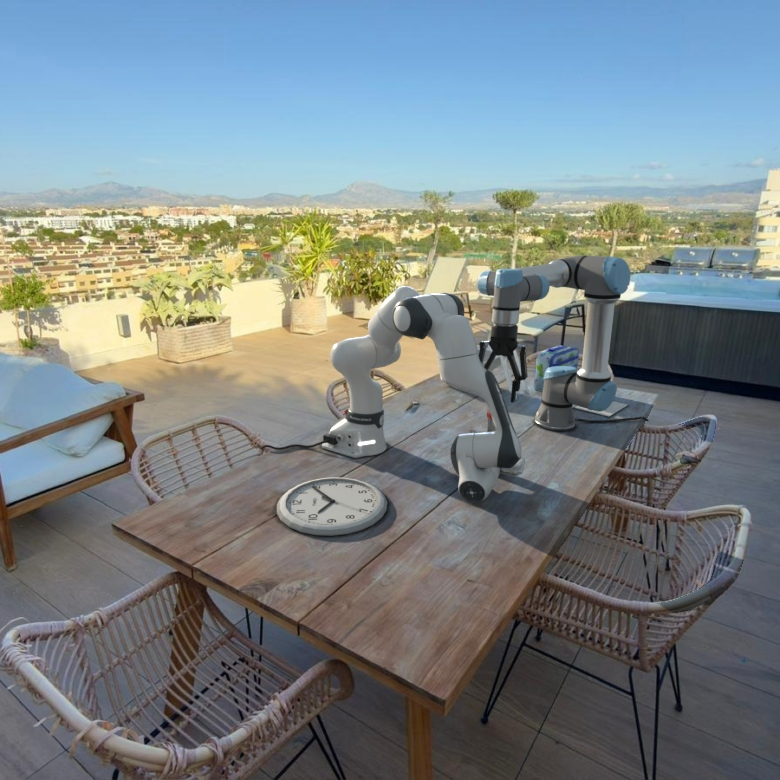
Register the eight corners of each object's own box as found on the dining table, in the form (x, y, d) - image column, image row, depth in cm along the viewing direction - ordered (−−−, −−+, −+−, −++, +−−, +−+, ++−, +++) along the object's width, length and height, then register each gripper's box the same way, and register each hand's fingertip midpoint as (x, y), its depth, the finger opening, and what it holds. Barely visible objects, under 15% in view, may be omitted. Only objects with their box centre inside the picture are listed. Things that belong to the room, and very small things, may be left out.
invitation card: (608, 416, 214) (573, 407, 224) (608, 416, 214) (573, 408, 224) (628, 404, 229) (594, 396, 238) (628, 405, 229) (594, 397, 238)
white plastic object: (461, 429, 252) (437, 405, 227) (444, 352, 274) (420, 323, 250) (535, 404, 240) (518, 377, 215) (510, 326, 262) (492, 293, 237)
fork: (403, 411, 216) (403, 406, 215) (414, 400, 230) (414, 395, 230) (409, 412, 215) (409, 407, 215) (420, 400, 229) (420, 396, 229)
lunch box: (550, 398, 235) (555, 353, 229) (529, 393, 243) (534, 349, 236) (577, 387, 253) (583, 345, 247) (557, 382, 260) (562, 341, 254)
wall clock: (392, 527, 129) (268, 531, 127) (391, 533, 130) (269, 537, 127) (383, 473, 158) (282, 475, 155) (383, 478, 158) (282, 480, 156)
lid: (510, 417, 160) (511, 410, 159) (502, 422, 155) (503, 416, 155) (492, 412, 163) (492, 406, 163) (483, 418, 158) (484, 412, 158)
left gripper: (522, 464, 146) (529, 446, 159) (451, 452, 154) (463, 436, 166) (520, 485, 148) (527, 465, 161) (450, 471, 156) (462, 454, 168)
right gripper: (544, 325, 149) (536, 400, 156) (474, 318, 158) (469, 390, 165) (538, 329, 143) (530, 408, 150) (466, 322, 152) (461, 397, 159)
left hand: (494, 450), depth 163 cm, fingers closed on jar, 5 cm apart
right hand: (498, 398), depth 157 cm, fingers open, 8 cm apart
